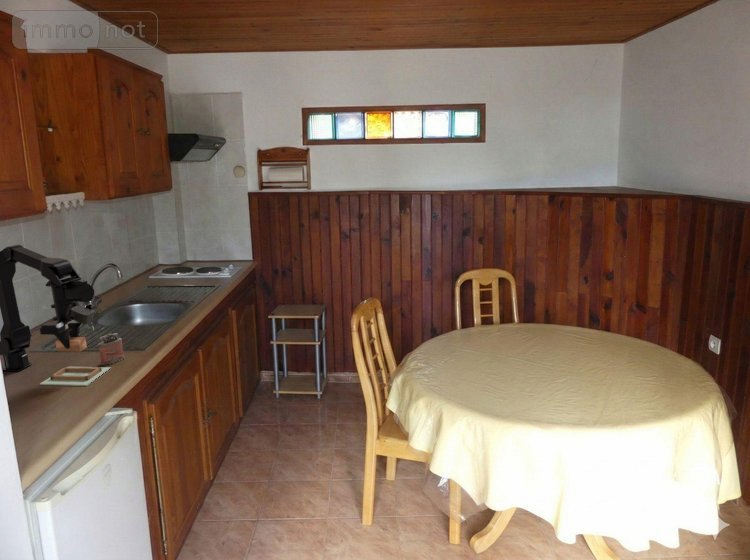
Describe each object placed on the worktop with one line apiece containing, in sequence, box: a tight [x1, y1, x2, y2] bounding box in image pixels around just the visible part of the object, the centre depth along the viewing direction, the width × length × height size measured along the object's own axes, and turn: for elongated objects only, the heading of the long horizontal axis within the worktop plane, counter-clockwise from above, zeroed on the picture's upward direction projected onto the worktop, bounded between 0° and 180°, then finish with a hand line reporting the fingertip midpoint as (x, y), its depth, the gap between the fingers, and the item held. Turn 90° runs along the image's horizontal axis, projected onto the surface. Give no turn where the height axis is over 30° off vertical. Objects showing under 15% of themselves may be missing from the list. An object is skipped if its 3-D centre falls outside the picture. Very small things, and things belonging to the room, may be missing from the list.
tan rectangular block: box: [55, 336, 88, 352], centre depth 187 cm, size 4×8×4 cm, turn 83°
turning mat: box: [39, 366, 112, 387], centre depth 190 cm, size 16×14×2 cm
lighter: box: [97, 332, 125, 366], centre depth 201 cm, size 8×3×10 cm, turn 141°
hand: (71, 346), depth 187 cm, fingers closed on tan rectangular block, 3 cm apart
